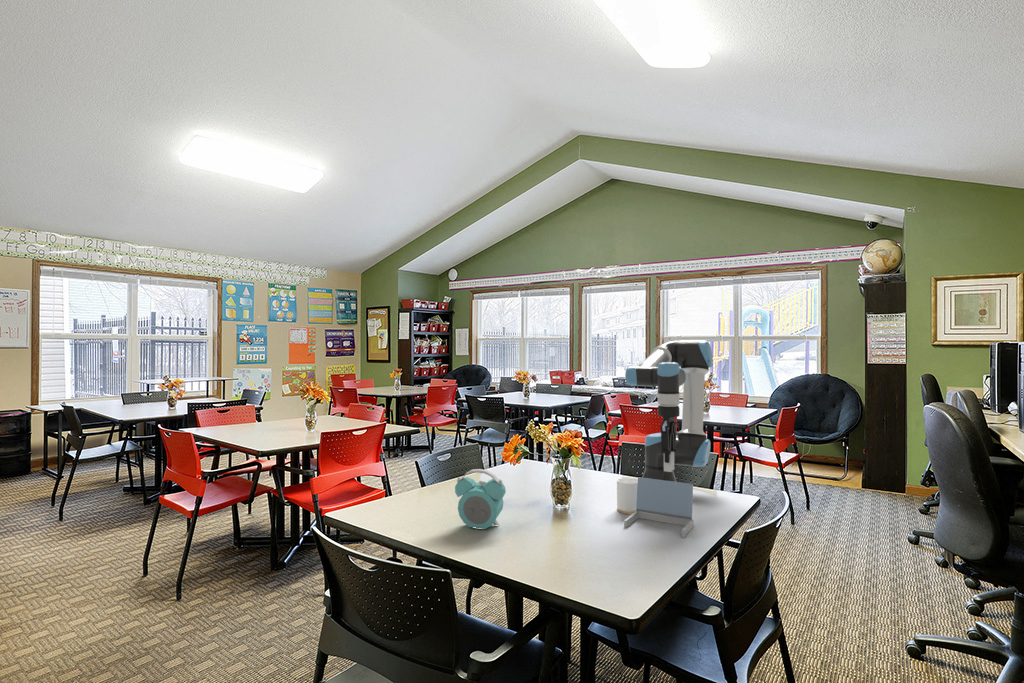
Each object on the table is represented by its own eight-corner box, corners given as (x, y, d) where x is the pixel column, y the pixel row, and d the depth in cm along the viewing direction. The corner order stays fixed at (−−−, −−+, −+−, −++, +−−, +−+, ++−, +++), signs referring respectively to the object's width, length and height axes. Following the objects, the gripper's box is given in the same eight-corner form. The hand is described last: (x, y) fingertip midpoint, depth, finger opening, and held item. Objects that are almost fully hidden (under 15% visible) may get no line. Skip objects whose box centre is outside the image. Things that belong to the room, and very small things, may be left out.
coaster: (622, 504, 212) (622, 503, 212) (650, 508, 206) (650, 507, 206) (612, 511, 202) (612, 510, 202) (641, 516, 197) (641, 515, 197)
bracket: (636, 516, 196) (636, 510, 196) (693, 526, 186) (693, 519, 186) (624, 527, 186) (624, 520, 186) (684, 537, 175) (683, 530, 175)
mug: (652, 512, 200) (652, 483, 200) (619, 512, 200) (619, 483, 200) (646, 505, 209) (645, 477, 209) (614, 506, 208) (614, 477, 208)
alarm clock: (509, 524, 189) (508, 466, 189) (501, 533, 180) (500, 472, 180) (462, 520, 193) (461, 464, 194) (452, 529, 184) (451, 470, 184)
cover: (636, 511, 195) (637, 510, 196) (691, 519, 185) (692, 519, 186) (637, 477, 197) (639, 477, 198) (692, 484, 187) (693, 483, 188)
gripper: (664, 402, 206) (664, 465, 206) (651, 406, 192) (652, 473, 192) (684, 403, 202) (685, 467, 202) (673, 408, 189) (673, 476, 188)
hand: (669, 470), depth 197 cm, fingers open, 3 cm apart
